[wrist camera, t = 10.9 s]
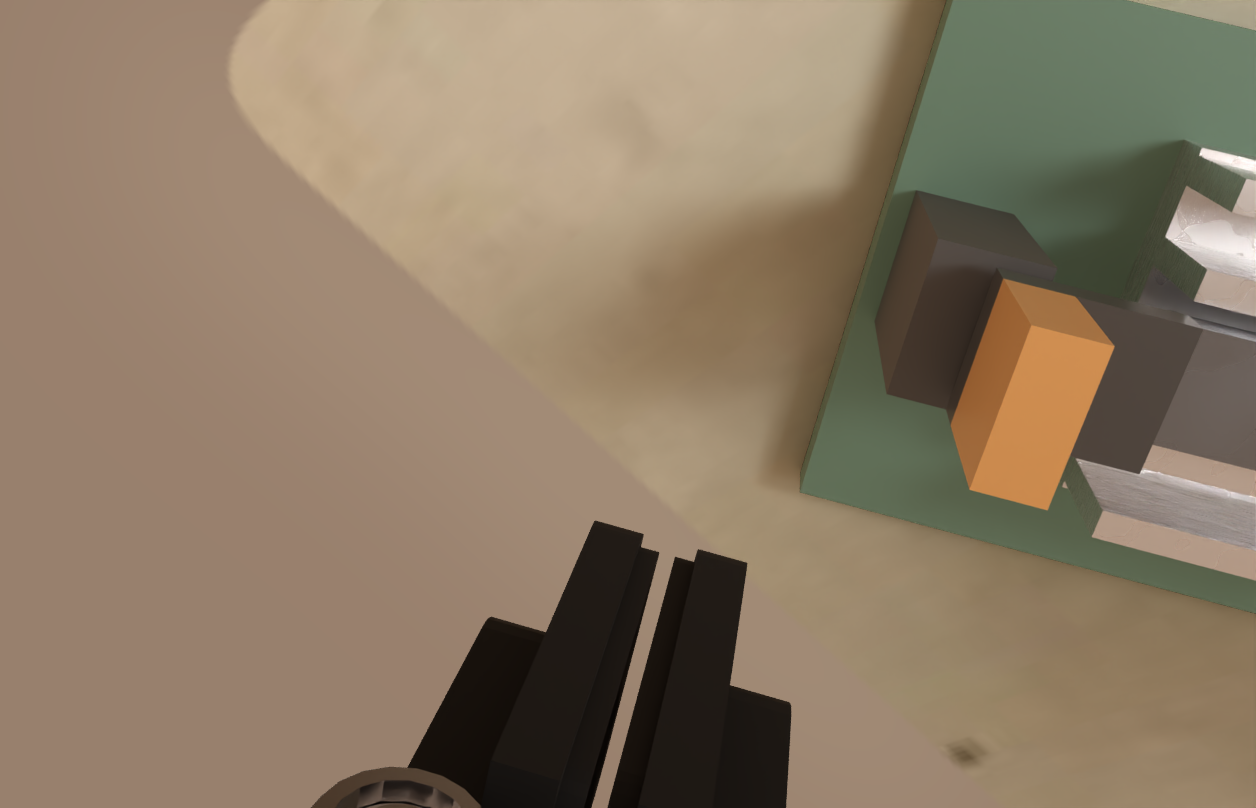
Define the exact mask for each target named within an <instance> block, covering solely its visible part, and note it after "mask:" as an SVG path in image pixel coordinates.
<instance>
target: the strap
mask: <svg viewBox="0 0 1256 808" xmlns="http://www.w3.org/2000/svg"><path fill="white" fill-rule="evenodd" d="M1190 317H1191V316H1190ZM1191 318H1192V319H1194V320H1195V321H1196V322H1197V323H1198V324H1199V325H1200V326H1201V327H1202V328H1203V332H1202V334H1201V336H1200V338H1199V341H1198V343H1197V345H1196V347H1195V350H1194V352H1193V354H1192V357H1191V359H1190V361H1189V363H1188V366H1187V368H1186V370H1185V372H1184V375H1183V377H1182V379H1181V381H1180V384H1179V386H1178V388H1177V391H1176V393H1175V395H1174V397H1173V400H1172V402H1171V404H1170V406H1169V409H1168V411H1167V413H1166V416H1165V418H1164V420H1163V422H1162V425H1161V427H1160V429H1159V431H1158V434H1157V436H1156V438H1155V441H1154V443H1153V445H1155V446H1159V447H1163V448H1167V449H1171V450H1175V451H1179V452H1183V453H1187V454H1191V455H1195V456H1199V457H1203V458H1207V459H1211V460H1215V461H1219V462H1223V463H1227V464H1231V465H1235V466H1239V467H1243V468H1247V469H1250V470H1254V471H1256V332H1252V331H1248V330H1243V329H1239V328H1235V327H1231V326H1227V325H1223V324H1219V323H1215V322H1211V321H1207V320H1203V319H1199V318H1195V317H1191Z"/></svg>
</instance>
